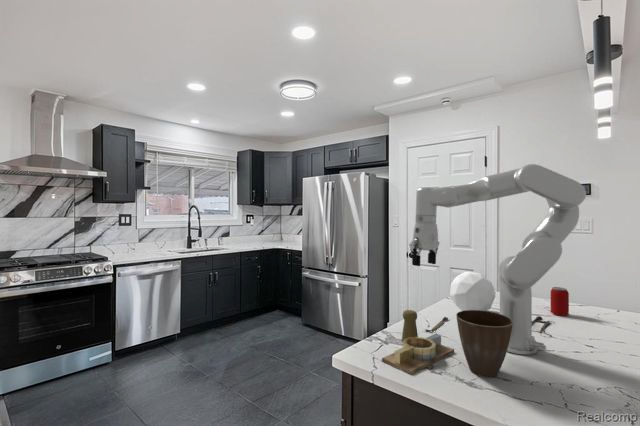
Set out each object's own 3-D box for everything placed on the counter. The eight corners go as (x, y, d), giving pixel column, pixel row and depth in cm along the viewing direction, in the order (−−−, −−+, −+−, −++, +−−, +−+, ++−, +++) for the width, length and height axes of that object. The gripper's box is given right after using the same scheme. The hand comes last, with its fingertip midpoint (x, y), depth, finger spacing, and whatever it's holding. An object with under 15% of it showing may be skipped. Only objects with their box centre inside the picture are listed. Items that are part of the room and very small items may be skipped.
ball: (462, 328, 152) (435, 293, 155) (474, 304, 166) (449, 272, 169) (499, 317, 139) (469, 278, 141) (508, 292, 153) (480, 257, 156)
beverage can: (568, 313, 152) (567, 287, 152) (569, 317, 146) (569, 290, 146) (550, 311, 155) (550, 286, 155) (551, 315, 149) (550, 288, 149)
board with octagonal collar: (425, 342, 119) (425, 339, 119) (454, 352, 110) (454, 349, 110) (381, 361, 104) (381, 358, 104) (411, 374, 95) (411, 371, 95)
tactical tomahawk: (441, 338, 125) (441, 335, 125) (424, 332, 129) (424, 330, 129) (458, 323, 141) (459, 320, 141) (443, 318, 146) (443, 316, 145)
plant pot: (525, 380, 92) (525, 323, 92) (482, 388, 87) (482, 328, 87) (485, 357, 106) (484, 308, 106) (445, 363, 102) (445, 312, 102)
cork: (409, 345, 116) (409, 314, 116) (398, 339, 122) (398, 309, 122) (422, 342, 119) (422, 311, 119) (410, 336, 124) (410, 307, 124)
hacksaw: (537, 318, 146) (537, 315, 146) (565, 324, 138) (565, 320, 138) (519, 331, 130) (519, 328, 130) (550, 339, 122) (550, 335, 122)
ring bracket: (425, 340, 118) (425, 330, 118) (451, 349, 110) (451, 338, 110) (384, 358, 104) (384, 347, 104) (411, 369, 96) (411, 357, 96)
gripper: (420, 220, 117) (418, 268, 117) (447, 220, 127) (445, 264, 128) (403, 219, 123) (401, 264, 123) (430, 219, 133) (429, 261, 134)
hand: (424, 264), depth 125 cm, fingers open, 9 cm apart
